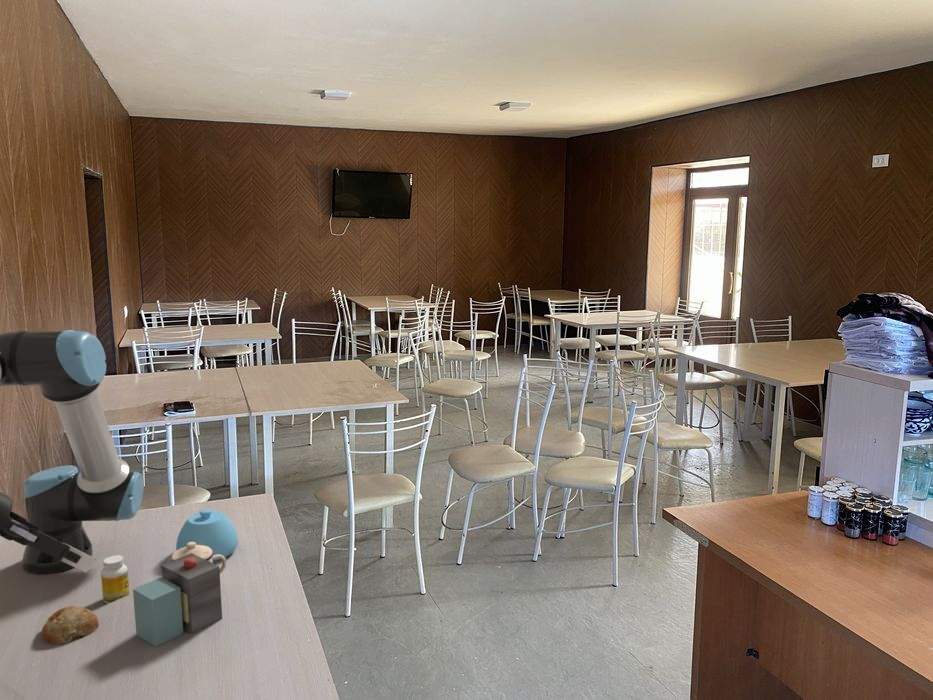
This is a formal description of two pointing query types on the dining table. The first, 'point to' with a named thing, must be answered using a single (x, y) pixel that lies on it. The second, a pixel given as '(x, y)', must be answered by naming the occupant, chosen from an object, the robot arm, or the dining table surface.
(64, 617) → the bread roll
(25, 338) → the robot arm
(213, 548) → the sugar bowl
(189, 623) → the switch base
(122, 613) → the dining table surface
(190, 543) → the teacup with lid
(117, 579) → the supplement bottle
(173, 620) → the teal rectangular block
